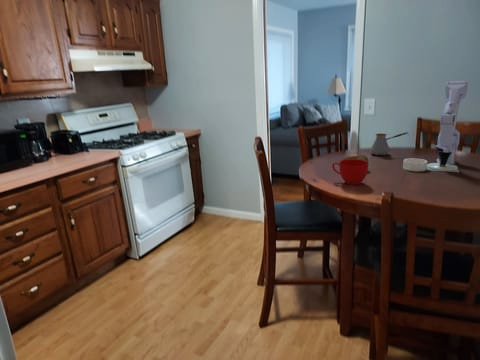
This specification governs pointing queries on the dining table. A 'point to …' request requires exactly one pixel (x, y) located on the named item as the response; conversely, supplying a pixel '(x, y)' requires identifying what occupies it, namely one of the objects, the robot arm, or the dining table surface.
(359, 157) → the tin
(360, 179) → the ceramic cup
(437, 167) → the lid
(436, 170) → the mat
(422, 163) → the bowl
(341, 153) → the dining table surface
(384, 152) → the coffee pot
